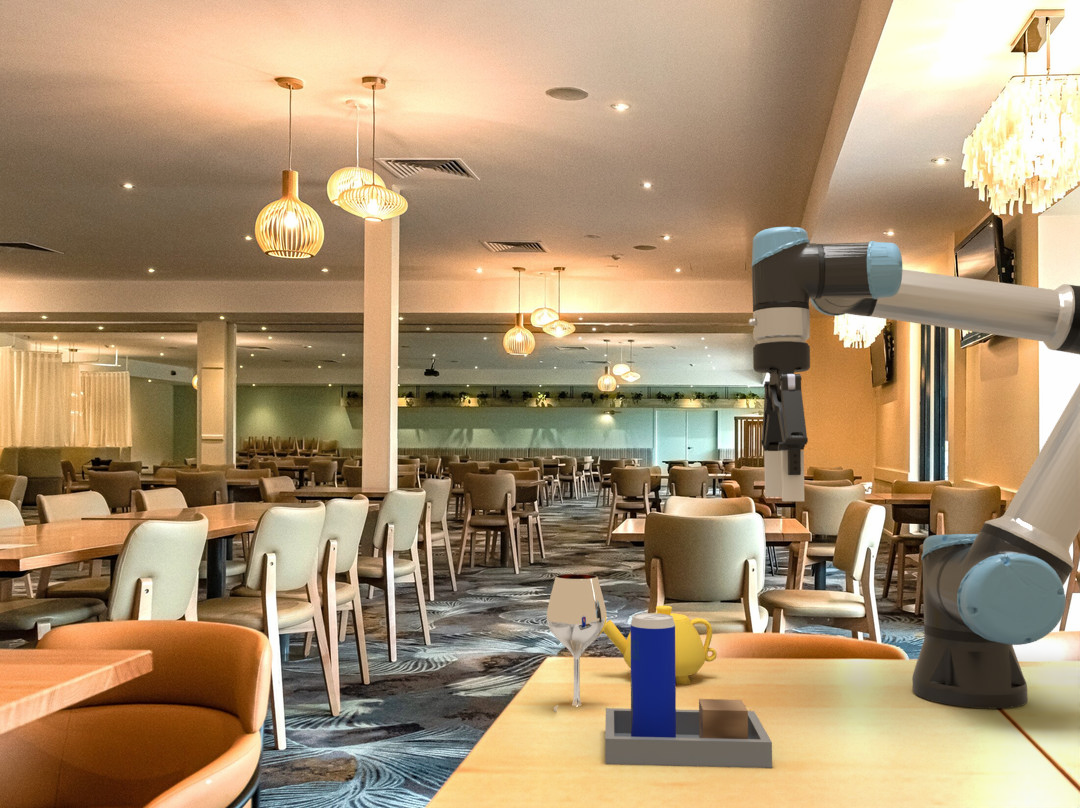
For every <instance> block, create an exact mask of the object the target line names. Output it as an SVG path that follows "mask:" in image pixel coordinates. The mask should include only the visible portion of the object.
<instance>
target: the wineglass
mask: <svg viewBox="0 0 1080 808" xmlns="http://www.w3.org/2000/svg"><path fill="white" fill-rule="evenodd" d="M549 597H550V598H549V601H548V605H547V611H546V623H547V626H548V629H549V630H550V632H551V633H552V635H553V636H554V637H555V638H556V639H557V641H559V642H560V643H561V644H562V645H563V646H564V647H565V648H567V650H568V651H569V652H570V653H571V655H572V657H573V700H572V703H571V706H573V707H580V706H582V705H583V704H582V701H581V695H580V693H581V688H580V677H581V676H580V674H581V673H580V671H581V670H580V665H581V663H580V662H581V661H580V658H581V655H582V654H583V653H584V652H585V650H586V649H587V648H588V647H589V646H590V645H591V644H593V643H594V642H595V641H596V640H597V639H598V638H599V637H600V636H601V634H602V633H603V630H604V628H605V625H606V622H608V621H607V618H608V617H607V608H606V605H605V600H604V596H603V593H602V589H601V585H600V581H599V577H598V576H597V575H595V574H587V573H586V574H585V573H570V574H569V573H567V574H559V575H555V578H554V581H553V585H552V590H551V592H550V596H549ZM558 707H559V704H556V705H555V706H553V711H554V712H555V713H557V712H558V709H559V708H558Z"/></svg>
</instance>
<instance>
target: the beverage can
mask: <svg viewBox="0 0 1080 808" xmlns="http://www.w3.org/2000/svg"><path fill="white" fill-rule="evenodd" d="M630 631H631V668H630V709H631V737H669V738H676V710H677V708H676V707H677V706H676V704H677V701H676V699H677V698H676V697H677V696H676V694H677V693H676V691H677V690H676V684H677V682H676V677H675V623H674V620H673V617H672V616H671V615H667V614H658V613H655V612H649V613H647V612H646V613H645V612H644V613H637V614H633V615H632V618H631V623H630Z"/></svg>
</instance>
